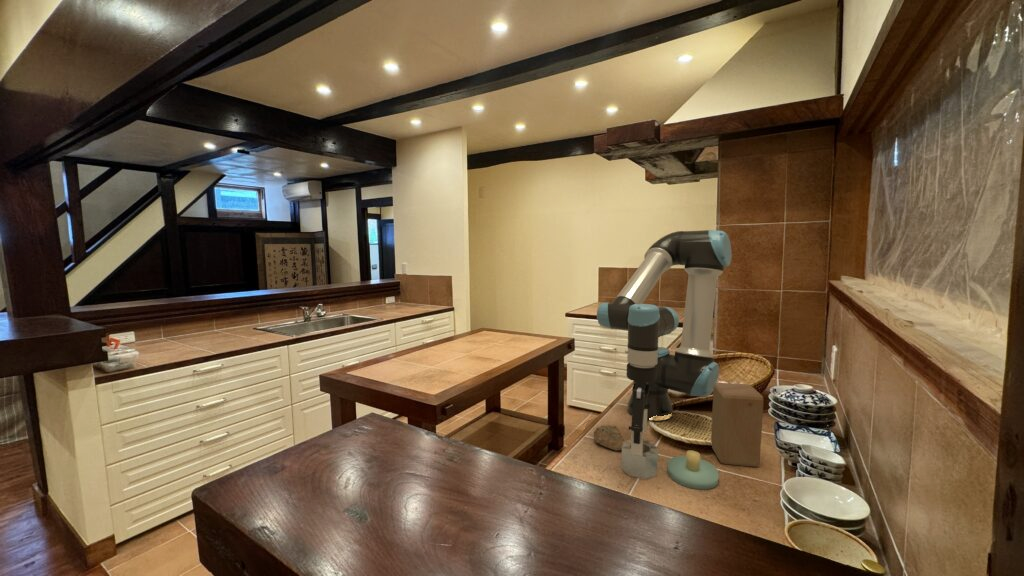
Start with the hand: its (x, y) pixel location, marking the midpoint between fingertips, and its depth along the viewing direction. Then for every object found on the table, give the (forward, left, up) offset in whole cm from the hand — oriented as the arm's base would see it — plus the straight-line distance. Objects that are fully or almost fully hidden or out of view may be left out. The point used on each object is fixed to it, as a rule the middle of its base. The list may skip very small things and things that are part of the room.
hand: (639, 442), depth 105 cm
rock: (-11, -9, -8) cm, 17 cm away
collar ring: (0, 0, -8) cm, 8 cm away
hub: (-2, +13, -8) cm, 15 cm away
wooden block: (-16, +24, -8) cm, 30 cm away
